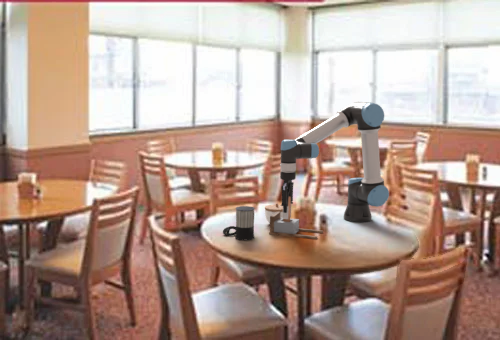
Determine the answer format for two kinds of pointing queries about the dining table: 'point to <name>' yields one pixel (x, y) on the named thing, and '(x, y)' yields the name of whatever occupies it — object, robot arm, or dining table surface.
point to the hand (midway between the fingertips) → (286, 217)
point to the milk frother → (243, 224)
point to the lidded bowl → (273, 211)
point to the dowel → (288, 211)
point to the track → (277, 216)
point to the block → (286, 226)
